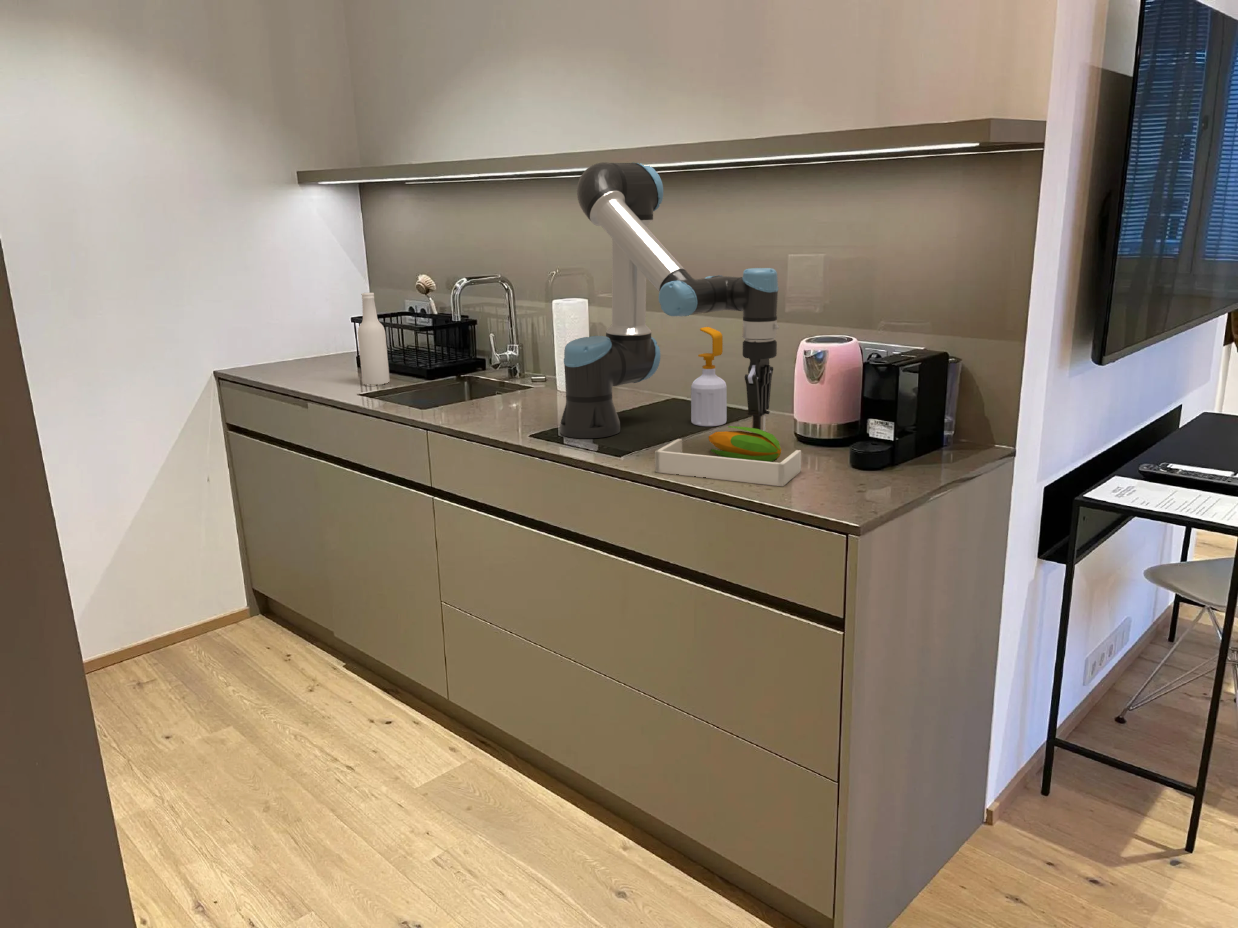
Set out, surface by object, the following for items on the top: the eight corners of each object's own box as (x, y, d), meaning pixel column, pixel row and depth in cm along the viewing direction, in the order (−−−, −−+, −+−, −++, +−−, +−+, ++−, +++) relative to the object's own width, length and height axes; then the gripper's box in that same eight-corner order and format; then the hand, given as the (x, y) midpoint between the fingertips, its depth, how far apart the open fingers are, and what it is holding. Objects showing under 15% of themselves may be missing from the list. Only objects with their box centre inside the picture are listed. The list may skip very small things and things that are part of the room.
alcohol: (370, 381, 315) (361, 292, 307) (394, 382, 313) (386, 291, 305) (358, 386, 307) (348, 294, 299) (382, 386, 305) (374, 294, 297)
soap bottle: (704, 417, 247) (703, 324, 241) (733, 421, 241) (733, 326, 235) (684, 424, 240) (683, 328, 234) (713, 428, 235) (713, 330, 228)
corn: (768, 435, 194) (697, 421, 208) (766, 471, 195) (695, 455, 210) (790, 431, 199) (719, 418, 213) (787, 466, 200) (717, 451, 215)
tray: (655, 472, 197) (654, 451, 196) (678, 458, 207) (677, 438, 206) (782, 486, 185) (783, 464, 183) (800, 471, 195) (801, 450, 194)
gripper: (766, 344, 199) (764, 451, 205) (785, 336, 210) (783, 437, 216) (733, 342, 202) (732, 448, 208) (753, 335, 213) (752, 435, 219)
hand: (758, 442), depth 212 cm, fingers closed
